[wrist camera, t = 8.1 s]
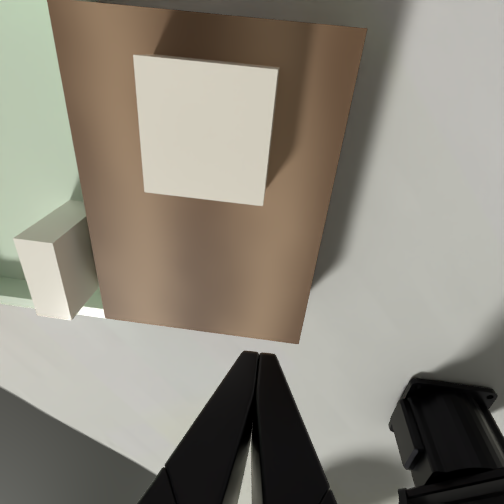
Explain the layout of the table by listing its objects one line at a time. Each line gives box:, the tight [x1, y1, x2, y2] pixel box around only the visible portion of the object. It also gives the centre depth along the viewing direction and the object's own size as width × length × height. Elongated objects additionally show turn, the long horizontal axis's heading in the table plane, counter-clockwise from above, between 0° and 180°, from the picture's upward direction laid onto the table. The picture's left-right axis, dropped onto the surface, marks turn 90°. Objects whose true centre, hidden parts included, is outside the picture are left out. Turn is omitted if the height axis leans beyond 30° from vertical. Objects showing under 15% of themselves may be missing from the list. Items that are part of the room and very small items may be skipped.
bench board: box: [47, 0, 367, 344], centre depth 18 cm, size 12×16×4 cm
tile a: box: [13, 200, 99, 320], centre depth 20 cm, size 5×5×2 cm
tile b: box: [133, 54, 280, 206], centre depth 14 cm, size 5×5×2 cm
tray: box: [0, 0, 105, 318], centre depth 19 cm, size 11×19×2 cm, turn 175°
